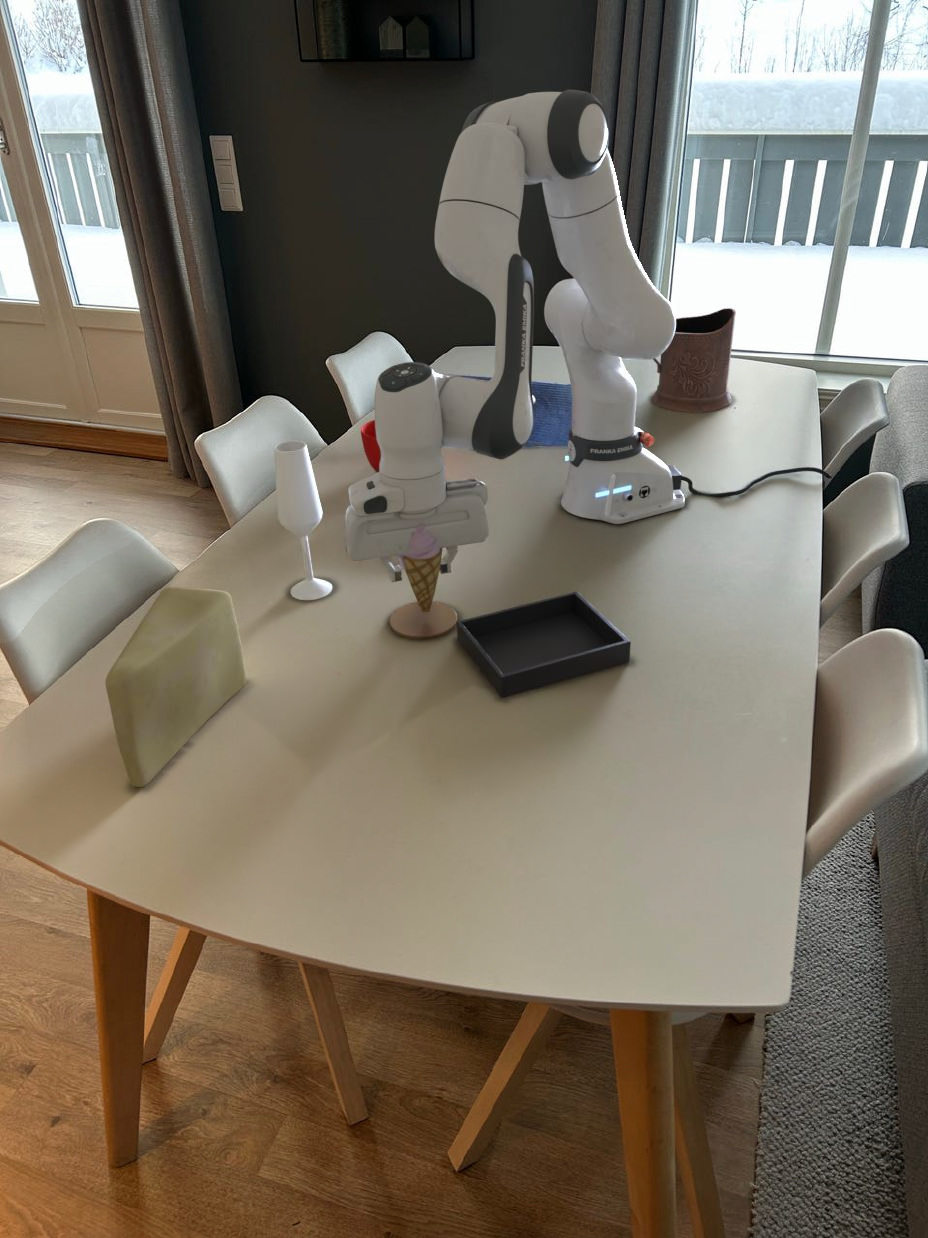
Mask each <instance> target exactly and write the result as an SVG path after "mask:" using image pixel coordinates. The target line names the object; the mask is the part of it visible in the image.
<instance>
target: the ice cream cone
mask: <svg viewBox="0 0 928 1238" xmlns="http://www.w3.org/2000/svg"><path fill="white" fill-rule="evenodd" d="M412 528H415V530H416V531H415V532H413V534H412V537H411V540H410V542H409V550H408V551H407V552H406V554H402V555H396V557H397V558H398V560H399V561H398V562H399V564H400V566H401V567H402V569H403V570H404V571H405V573H406V576H407V580H408V582H409V585H410V587H411V590H412V592H413V595H414V597H415V599H416V602H418V604H419V607H420V609H421V611H422V612H424V613H426V612H429V611H430V610H431V606H432V602H434V597H435V593H436V590H437V585H438V582H439V581H438V580H439V575H440V571H439V570H440V564H441V559H442V556H443V548H439V546H437V545H435V544H434V542H435V540H436V539H437V537H434V536H432V533H431V531H429V530H426V531H423V530H424V528H425V523H421V524H420V525H418V526H415V527H412ZM422 531H423V532H422ZM399 549H402V548H399Z"/></svg>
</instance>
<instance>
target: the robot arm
mask: <svg viewBox="0 0 928 1238" xmlns="http://www.w3.org/2000/svg"><path fill="white" fill-rule="evenodd" d="M609 125H610V123H609V118H608V114H607V113H606V110H605V108H604V107H603V105H602V103H601V102H600V100H598V97H596V96H595V95H594V94H593V93H591V92H589V91H584V90H577V89H566V90H563V91H539V92H537V91H536V92H529V93H526V94H524V95H520V96H516V97H511V98H507V99H504V100H500V101H493V100H492V101H489V102H486V103H484V104H481V105H479V106H478V107H476V108H475V109H473V110H472V111H471V112H469V114H468V116H467V117H466V119H465V121H464V123H463V126H462V129H461V132H460V134H459V135H458V137H457V138H456V142H455V145H454V146H453V150H452V152H451V155H450V158H449V161H448V165H447V168H446V172H445V175H444V178H443V183H442V187H441V192H440V196H439V201H438V202H439V203H438V206H437V213H436V217H435V225H434V248H435V252H436V254H437V257H438V258H439V261H440V263H441V264H442V266H444V269H446V270H447V271H448V273H449V274H450V275H451V276H453V277H454V278H456V279H457V280H458V281H460V282H461V283H463V284H465V285H466V286H468V287H469V288H471V289H473V290H475V291H476V292H478V293H480V294H482V295H483V296H484V297H485V298H486V299H487V300H488V301H489V303H490V304H491V306H492V308H493V311H494V315H495V338H494V368H493V369H494V370H493V371H494V372H493V375H492V376H491V377H492V378H491V379H490V380H480V379H473V378H466V377H461V376H456V375H457V374H453V375H449V374H450V373H442V374H441V372H436V371H434V369H433V368H432V367H431V366H430V365H429V364H426V363H423V362H419V361H407V362H402V363H397V364H393V365H392V366H390V367H388V368H386V369H385V370H383V371H382V372H381V373H380V374H379V375H378V376H377V380H376V384H375V391H374V405H373V407H374V408H373V410H374V411H373V412H374V420H375V430H376V439H377V442H378V445H379V447H380V451H381V459H380V464H379V472H378V473H377V472H375V473H374V474H372V475H370V476H367V477H365V478H364V479H361V480H359V481H357V482H355V483H352V484H351V485H350V486H348V500H349V503H350V505H348V507H347V508H346V511H345V515H344V545H345V550H346V554H347V556H348V557H349V558H350V559H351V560H352V561H353V562H362V561H369V560H376V559H380V560H381V563H382V564H383V566H384V567H385V568H386V569H387V571H388V572H389V578H390V582H391V583H396V582H402V581H403V577H402V569H401V567H400V565H393V564H392V563H393V557H394V556H395V557H396V556H397V555H402V554H406V552H407V551H408V550H409V542H410V540H411V537H412V534H413V532H415V531H416V530H415V528H412V527H415V526H418V525H420V524H421V523H425V528H424V530H423V531H426V530H429V531H431V533H432V536H434V537H437V539H436V540H435V542H434V544H435V545H437V546H439V548H442V549H446V551H445V554H444V555H443V557H441V564H440V570H439V574H440V575H445V574H450V573H452V562H453V561H454V560H455V558H456V556H457V555H458V552H459V551H458V549H459V548H458V547H459V546H465V545H471V544H472V545H473V544H477V543H478V544H479V543H483V542H485V541H486V539H487V538H488V537H489V521H488V517H487V512H486V508H485V506H486V505H487V502H488V499H489V498H488V497H489V496H488V487H487V485H486V484H485V482H483V481H482V480H477V478H467V479H465V480H453V481H452V480H451V481H446V466H445V465H446V464H445V459H444V457H443V453H442V448H444V447H446V448H451V449H458V450H462V451H463V450H464V451H469V452H473V453H474V452H475V453H476V454H478V455H482V456H486V457H489V458H493V459H495V460H505V459H508V458H510V457H512V455H514V454H516V453H518V451H520V450H521V449H522V448H524V447H523V446H524V445H525V444H526V443H527V442H528V441H529V439H530V437H531V434H532V430H533V424H534V407H533V396H532V381H533V379H532V378H533V377H532V376H533V351H534V350H533V349H534V347H533V346H534V321H535V319H534V317H535V289H534V288H535V287H534V284H535V283H534V276H533V271H532V267H531V264H530V263H529V261H528V260H527V259H526V258H524V257H523V256H522V254H521V250H520V243H519V226H520V222H521V214H522V210H523V202H524V201H523V200H524V193H525V192H524V191H525V190H524V189H525V186H527V185H530V186H531V185H537V184H540V183H541V186H542V193H543V198H544V204H545V208H546V212H547V216H548V221H549V225H550V229H551V234H552V237H553V242H554V247H555V250H556V255H557V258H558V260H559V262H560V264H561V266H562V267H563V268H564V270H566V271H567V272H568V273H569V274H570V275H571V276H572V277H573V278H567V279H566V278H565V279H563V280H561V281H558V282H557V283H556V284H555V285H554V286H553V287H552V288H551V290H550V291H549V292H548V295H547V297H546V300H545V303H544V309H543V315H544V316H543V317H544V321H545V324H546V326H547V328H548V329H549V331H550V332H551V333H552V335H553V336H554V338H555V339H556V341H557V343H558V345H559V347H560V351H561V353H562V355H563V358H564V361H565V365H566V368H567V373H568V377H569V382H570V384H571V391H572V427H571V428H570V430H569V441H568V446H567V455H565V456H564V458H565V459H564V460H565V461H566V462H567V461H568V462H569V463H568V464H569V465H568V472H567V478H566V481H565V482H566V483H565V487H564V491H563V494H562V497H561V500H560V504H561V507H562V508H563V509H564V510H565V511H566V512H568V513H569V514H571V515H574V516H577V517H580V518H583V519H589V520H597V521H602V522H603V521H604V522H606V523H608V524H613V525H622V524H626V523H629V522H634V521H637V520H641V519H646V518H648V517H653V516H656V515H660V514H664V513H667V512H671V511H676V510H679V509H683V508H684V507H685V504H686V499H685V495H684V494H683V492H682V491H681V489H682V488H681V487H682V481H684V482H685V483H687V488H688V491H689V492H690V493H692V494H693V495H698V496H705V497H710V498H727V497H734V496H739V495H741V494H744V493H747V491H748V490H749V489H751V487H753V486H754V485H756V484H758V483H760V482H762V481H764V480H766V479H768V478H770V477H774V476H779V475H786V474H792V473H793V474H794V473H799V472H801V473H802V472H811V473H812V472H813V473H818V474H820V475H822V476H824V477H825V478H826V479H833V477H832V475H831V474H830V473H829V472H828V471H826V470H824V469H823V468H820V467H814V466H800V467H793V468H792V467H791V468H785V469H778V470H772V471H769V472H767V473H765V474H763V475H761V476H758V477H756V478H755V479H753V480H751V481H750V482H748V483H747V484H746V485H745V486H743V487H742V488H741V489H737V490H732V491H726V492H724V491H723V492H715V493H709V492H703V491H699V490H697V489H695V488H694V487H693V486H694V483H693V480H692V479H691V478H689V477H688V476H685V475H682V474H681V472H680V471H679V470H678V469H677V468H676V467H675V465H672V464H671V465H667V464H666V463H665V462H663V461H662V460H661V459H660V458H659V457H657V456H656V454H654V453H652V452H651V451H649V450H648V449H646V448H645V447H648V448H650V447H652V446H653V445H654V444H655V437H654V436H653V435H651V434H650V433H649V432H644V431H643V430H642V429H641V428H639V427H636V415H637V398H638V397H637V396H638V390H637V386H636V382H635V381H634V379H633V377H632V376H631V375H630V373H629V372H628V371H627V370H626V367H625V365H624V363H623V361H622V359H623V360H633V361H644V360H645V361H647V360H648V361H649V360H653V359H654V358H656V359H657V358H658V357H661V354H662V353H663V352H664V351H665V350H666V349H667V348H668V346H669V345H670V343H671V341H672V339H673V337H674V333H675V329H676V318H677V317H676V312H675V308H674V306H673V304H671V302H670V301H669V300H667V298H665V297H664V296H663V294H661V293H660V291H659V290H658V289H656V287H655V285H653V283H652V281H651V280H650V278H649V277H648V275H647V273H646V272H645V270H644V268H643V266H642V264H641V262H640V260H639V259H638V256H637V254H636V253H635V250H634V248H633V246H632V242H631V240H630V237H629V233H628V228H627V224H626V219H625V215H624V210H623V207H622V206H623V205H622V201H621V196H620V190H619V185H618V180H617V175H616V172H615V168H614V164H613V161H612V157H611V155H610V152H609V149H608V146H609V140H610V126H609ZM643 445H644V446H645V447H644V446H643ZM423 531H422V532H423ZM399 548H402V549H399Z"/></svg>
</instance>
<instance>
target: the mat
mask: <svg viewBox="0 0 928 1238" xmlns="http://www.w3.org/2000/svg"><path fill="white" fill-rule="evenodd" d="M440 373H441V372H440ZM441 374H443V373H441ZM448 374H449V375H454V374H451V373H448ZM455 375H456V376H461V377H466V378H473V379H480V380H490V379H491V378H492V377H493V376H477V375H465V374H463V375H462V374H461V375H460V374H455ZM532 396H533V407H534V424H533V430H532V434H531V437H530V439H529V441H528V442H527V443H526V444H525V445H524V446H523V447H522V448H535V447H568V441H569V430H570V428H571V427H572V391H571V383H558V382H547V381H536V380H532Z"/></svg>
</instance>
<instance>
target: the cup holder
mask: <svg viewBox="0 0 928 1238" xmlns="http://www.w3.org/2000/svg"><path fill="white" fill-rule="evenodd" d="M736 312H737V311H736V309H734V308H733V307H725V308H722V309H719V310H716V311H714V312H712V313H707V314H702V315H696V316H695V315H694V316H685V317H676V329H675V333H674V337H673V339H672V341H671V343H670V345H669V346H668V348H667V349H666V350H665V351H664V352H663V353H662V354H661V355H660V359H659V360H660V362H659V360H658V359H657V357H656V358H654V359H652V360H653V361H654V363H655V364H656V373H657V374H659V376H658V384H657V386H656V391H655V392H654V393H653V395H652V396H651V400H652V402H653V403H654V404H656V405H657V406H659V407H662V408H665V409H667V410H673V411H678V412H688V413H691V412H692V413H693V412H694V413H695V412H697V413H698V412H699V413H700V412H710V411H711V412H713V411H717V410H721V409H723V408H726V407H728V406H729V405H731V403H732V397H731V395H730V393H729V385H728V384H729V376H730V375H729V374H730V367H731V359H732V358H731V357H732V351H733V350H732V348H733V341H734V331H735V322H736Z"/></svg>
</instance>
